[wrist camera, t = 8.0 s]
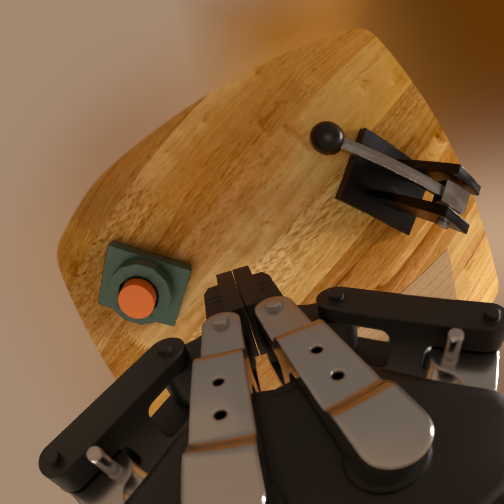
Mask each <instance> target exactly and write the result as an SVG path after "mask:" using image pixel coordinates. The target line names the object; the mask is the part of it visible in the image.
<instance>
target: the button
mask: <svg viewBox="0 0 504 504" xmlns="http://www.w3.org/2000/svg"><path fill="white" fill-rule="evenodd" d="M155 301H156V291H155V289H154V287H153V286H152V284H151V283H149V282H148V281H147V280H145V279H141V278H133V279H130V280H128V281H127V282H126V283H125V284H124V286H123V287H122V289H121V291H120V293H119V296H118V302H119V306H120V308H121V310H122V311H123V312H124V313H125V314H126V315H128V316H130V317H132V318H136V319H141V318H145V317H147V316H149V315H150V314H151V313H152V311H153V309H154V305H155Z"/></svg>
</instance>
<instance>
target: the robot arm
mask: <svg viewBox="0 0 504 504" xmlns="http://www.w3.org/2000/svg"><path fill="white" fill-rule="evenodd" d="M233 274H234V277H235V280H234V277H233ZM233 274H232V272H231V271H228V272H225V273H221V274H218V275H216V277H217V282H218V285H217V286H214V287H211V288H208V289H207V291H206V292H205V294H204V298H205V308H206V318H207V320H206V321H205V322H204V323H203V325H202V335H201V336H200V337H198V338H197V339H195V340H193V341H191V342H189V343H187V344H184V342H183V341H182V340H181V339H179V338H167V339H163V340H161V341H159V342H157V343H156V344H154V345H153V346H152V347H151V348H150V349H149V350H148V351H147V352H146V353H145V354H143V355H142V356H141V357H140V358H139V359H138V360H137V361H136V362H135V363H134V364H133V365H132V366H131V367H130V368H129V369H128V370H127V371H126V372H124V373H123V374H122V375H121V376H120V377H119V378H118V379H117V380H116V381H115V382H114V383H113V384H112V385H111V386H110V387H109V388H108V389H107V390H106V391H104V392H103V393H102V394H101V395H100V396H99V397H98V398H97V399H96V400H95V401H94V402H93V403H92V404H91V405H90V406H89V407H88V408H87V409H85V410H84V411H83V412H82V413H81V414H80V415H79V416H78V417H77V418H76V419H75V420H74V421H73V422H72V423H71V424H70V425H69V426H68V427H67V428H66V429H65V430H63V431H62V432H61V433H60V434H59V435H58V436H57V437H56V438H55V439H54V440H53V441H52V442H51V443H50V444H49V445H48V446H47V447H45V449H44V450H43V451H42V453H41V455H40V458H39V468H40V471H41V472H42V474H43V475H44V476H46V477H47V478H49V479H50V480H51V481H52V482H54V483H55V484H57V485H58V486H59V487H60V488H61V489H62V490H64V491H65V492H67V493H68V494H70V495H71V496H73V497H74V498H75V499H76V500H77V501H78V502H79V503H80V504H504V395H503V394H501V393H499V392H497V382H498V359H499V351H500V349H501V346H502V343H503V341H504V308H503V307H502V306H500V305H497V304H494V303H485V302H474V301H463V300H453V299H443V298H434V297H425V296H415V295H406V294H398V293H389V292H381V291H372V290H364V289H356V288H348V287H332V288H328V289H326V290H324V291H322V292H321V293H320V294H319V295H318V296H317V298H316V301H317V303H316V304H309V305H296V304H295V303H294V302H293V301H292V300H291V299H290V298H288V297H285V296H283V295H282V294H281V292H280V291H279V289H278V288H277V286H276V285H275V283H274V282H273V281H272V279H271V277H270V276H269V275H268V274H265V273H263V272H260V273H257V274H253V275H252V273H251V271H250V269H249V267H248V266H244V267H241V268H238V269H234V270H233ZM235 281H236V283H235ZM236 284H237V286H236ZM357 326H359V327H364V328H370V329H376V330H381V331H383V332H385V333H386V334H387V335H388V336H389V342H385V341H380V340H374V339H369V338H364V337H359V336H358V334H357ZM250 327H251V328H250ZM251 330H252V331H251ZM252 332H253V334H252ZM253 335H254V337H253ZM254 338H255V340H254ZM255 341H256V343H257V346H258V349H259V351H260V354H261V355H262V354H265V353H266V354H267V356H268V359H269V363H270V366H271V369H272V370H273V372H274V374H275V376H276V378H277V380H278V381H279V383H280V385H281V387H279V388H277V389H275V390H270V391H262V389H261V384H260V380H259V375H258V371H257V368H256V360H255V357H256V356H259V353H258V350H257V347H256V344H255ZM165 388H167V390H168V392H169V393H170V396H169V398H168V399H167V400H166V401H165V402H164V403H163V404H162V405H161V407H160V408H159V409H158V410H157V411H156V412H155V413H154V414H153V416H152V417H151V418H150V416H149V407H150V405H151V404H152V402H153V401H154V400H155V399H156V398H157V397H158V396H159V395H160V394H161V393H162V391H163V390H164V389H165Z"/></svg>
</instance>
